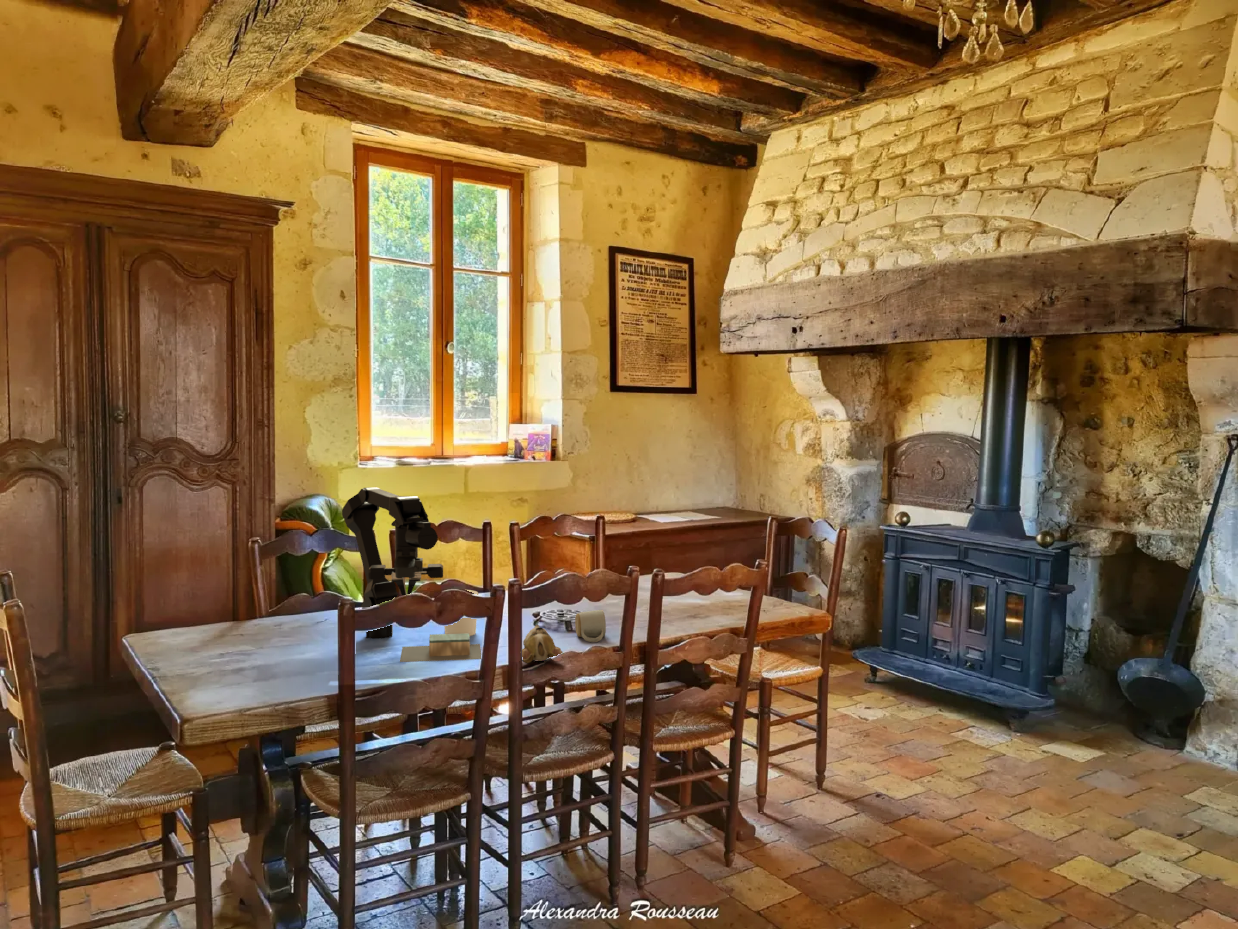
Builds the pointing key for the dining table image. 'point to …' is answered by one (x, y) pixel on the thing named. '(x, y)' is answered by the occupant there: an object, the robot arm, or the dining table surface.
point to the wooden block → (449, 644)
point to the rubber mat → (423, 655)
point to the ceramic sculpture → (539, 646)
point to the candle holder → (463, 625)
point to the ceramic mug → (591, 625)
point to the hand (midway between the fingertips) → (406, 604)
